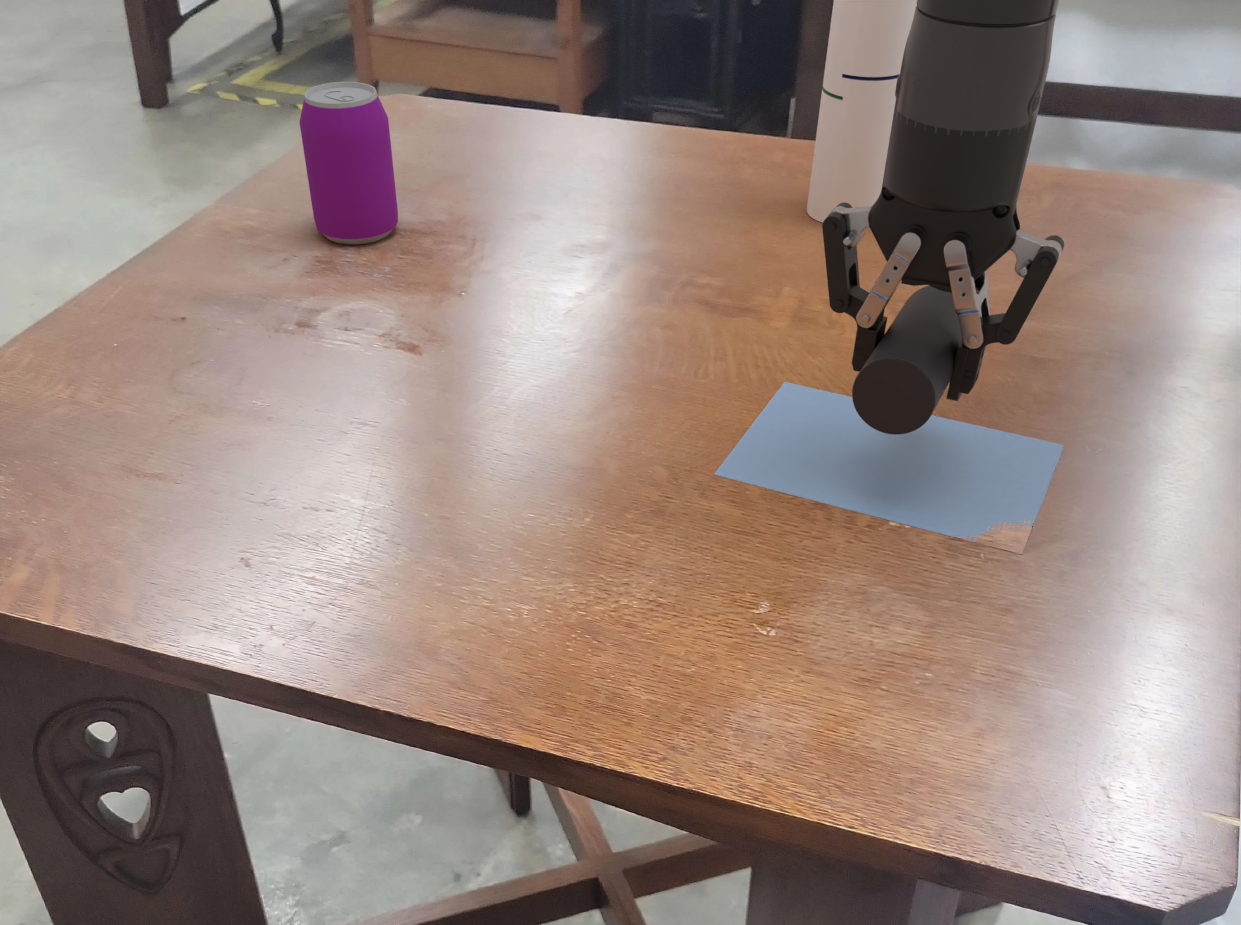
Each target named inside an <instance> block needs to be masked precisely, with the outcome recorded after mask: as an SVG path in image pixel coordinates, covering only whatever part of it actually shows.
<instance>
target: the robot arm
mask: <svg viewBox="0 0 1241 925" xmlns="http://www.w3.org/2000/svg"><path fill="white" fill-rule="evenodd" d="M916 4H917V6H916V8H915V13H914V17H913V21H912V25H911V28H910V32H909V35H908V38H907V42H906V46H905V49H904V54H903V59H902V65H901V71H900V74H899V76H898V78H897V84H896V90H895V96H896V102H895V108H894V114H893V121H892V127H891V133H890V139H889V146H888V152H887V158H886V164H885V171H884V177H883V183H882V189H881V193H880V195H879V197H878V199H877V201H876V202H875V203H874V204H873V206H868V207H855V208H853V207H852V206H851V205H850V204H848V203H845V202H844V203H840V204H838V205H837V206H836V207H835V208H834V209H833V210H832V211H831V213H830V214H829V215H828V216H827V218H826V219H825V220H824V222H823V223H822V225H821V229H822V237H823V250H824V259H825V260H824V261H825V268H826V269H825V270H826V280H827V290H828V301H829V307H830V309H831V310H832V311H833V312H834V313H836V314H843V313H845V314H846V315H848V316H850V317H852V319H854V321H855V323H856V334H855V340H854V347H853V353H852V359H851V367H852V370H853V371H855V372H857V373H859V372H860V371H861V369H862V368H863V366H864V365H865V363H866V362H867V360H868V359H869V357H870V356H871V354H872V353H873V351H874V349H875V348H876V346H877V345H878V343H879V342H880V340H881V339H882V337H883V336H884V334H885V333H886V328H887V323H888V316H885V310H886V308H887V306H888V304H889V302H890V301H891V299H892V297H893V296H894V295H895V292H896V290H897V289H898V287H899V286H900V284H902V285H909V286H913V287H915V286H917V287H918V286H932V287H934V288H936V289H938V290H940V291H946V292H951V293H952V296H953V302H954V308H955V312H956V314H958V316H959V322H960V328H961V334H962V340H961V342H960V344H959V346H958V348H957V353H956V357H955V362H954V366H953V373H952V377H951V380H950V382H949V384H948V388H947V393H946V400H950V401H954V402H959V401H960V399H961V397H962V395H963V394H965V395H969V394H970V392H971V391H972V390H973V388H974V387H975V385H976V383H977V381H978V379H979V376H980V372H981V368H982V365H983V364H982V363H983V360H984V355H985V352H986V347H987V346H988V345H991V344H996V343H997V344H998V343H999V344H1001V345H1005V346H1007V345H1012V343H1014V342H1015V341H1016V339H1017V338H1018V335H1019V334H1020V331H1021V329H1022V328H1023V326H1024V324H1025V322H1026V320H1027V319H1028V317H1029V316H1030V313H1031V312H1032V310H1033V308H1034V306H1035V304H1036V302H1037V300H1038V299H1039V297H1040V295H1041V293H1042V291H1043V289H1044V288H1045V285H1046V283H1047V282H1048V281H1049V278H1050V276H1051V274H1052V273H1053V271H1054V270H1055V267H1056V265H1057V263H1058V261H1059V259H1060V257H1061V255H1062V253H1063V251H1064V249H1065V241H1064V240H1063V238H1062V237H1061V236H1059V235H1056V234H1055V235H1049V236H1047V237H1046V238H1042V237H1040V236H1038V235H1035V234H1033V233H1030V232H1027V231H1026V230H1023V229H1021V224H1020V223H1021V222H1020V220H1019V217H1018V211H1017V205H1018V199H1019V195H1020V190H1021V186H1022V182H1023V179H1024V175H1025V170H1026V165H1027V162H1028V157H1029V152H1030V148H1031V144H1032V141H1033V135H1034V131H1035V127H1036V124H1037V118H1038V114H1039V111H1040V106H1041V101H1042V97H1043V94H1044V90H1045V86H1046V85H1045V84H1046V81H1047V77H1048V72H1049V68H1050V62H1051V56H1052V47H1053V36H1054V27H1055V23H1056V17H1057V12H1058V11H1057V10H1058V8H1059V4H1060V0H917V1H916ZM867 228H869V229H870V231H871V233H872V235H873V237H874V239H875V241H876V243H877V245H878V247H879V250H880V251H881V253H882V255H883V257H884V259H885V261H886V263H885V265H884V267H883V268H882V270H881V272H880V274H879V275H878V277H877V278H876V281H874V284H873V285H872V287H871V288H870V291H868V290H866V289H864V288H862V287H861V283H860V271H859V259H858V258H859V256H858V246H857V245H858V244H859V243H860V242H861V241H862V240H863V238H864V237H865V233H866V232H865V231H866V229H867ZM1009 251H1012V253H1014V255H1015V264H1014V272H1015V273H1016V275H1018V276H1019V277H1021V278H1023V279H1022V281H1021V282H1020V285H1019V286H1018V289H1017V290H1016V292H1015V294H1014V297H1013V298H1012V300H1011V302H1010V304H1009V305H1008V308H1007V309H1006V311H1005V312H1003V313H996V314H992V312H991V305H990V299H989V292H990V285H989V278H988V271H987V270H989V269H990V268H991V267H992V266H994V265H995V263H997V262H998V261H999V260H1000V259H1001V258H1003V256H1005V254H1007V253H1008V252H1009Z"/></svg>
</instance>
